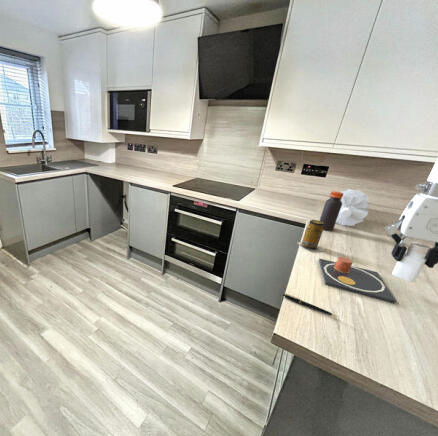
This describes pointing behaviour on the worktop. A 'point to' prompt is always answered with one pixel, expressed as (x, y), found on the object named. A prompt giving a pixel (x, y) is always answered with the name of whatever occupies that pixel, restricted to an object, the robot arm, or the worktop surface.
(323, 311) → the fountain pen
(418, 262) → the pepper shaker
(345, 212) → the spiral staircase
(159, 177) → the worktop surface
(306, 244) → the condiment
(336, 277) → the face board
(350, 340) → the worktop surface
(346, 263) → the red faceted block
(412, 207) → the robot arm
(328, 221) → the bottle
